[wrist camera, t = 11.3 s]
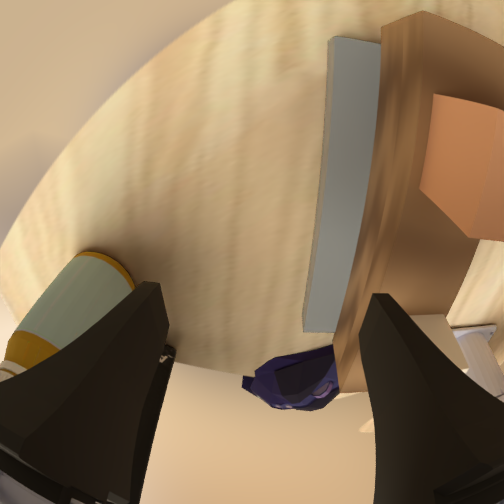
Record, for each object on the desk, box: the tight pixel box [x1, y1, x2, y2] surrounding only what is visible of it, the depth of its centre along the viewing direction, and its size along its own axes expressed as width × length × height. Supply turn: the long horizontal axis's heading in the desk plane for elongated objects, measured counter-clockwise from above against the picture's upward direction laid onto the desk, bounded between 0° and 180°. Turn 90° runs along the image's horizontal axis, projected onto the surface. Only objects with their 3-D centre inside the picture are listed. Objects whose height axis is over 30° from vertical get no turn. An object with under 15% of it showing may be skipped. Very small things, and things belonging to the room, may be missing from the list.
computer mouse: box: [242, 345, 340, 411], centre depth 27 cm, size 9×15×4 cm, turn 135°
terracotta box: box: [419, 94, 504, 242], centre depth 8 cm, size 4×4×4 cm
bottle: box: [0, 252, 135, 382], centre depth 17 cm, size 7×7×15 cm
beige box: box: [409, 314, 469, 374], centre depth 14 cm, size 4×4×4 cm
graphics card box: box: [95, 345, 176, 504], centre depth 19 cm, size 17×7×27 cm, turn 147°
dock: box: [302, 36, 381, 333], centre depth 17 cm, size 20×10×2 cm, turn 179°
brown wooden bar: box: [333, 11, 504, 393], centre depth 14 cm, size 22×5×5 cm, turn 179°
